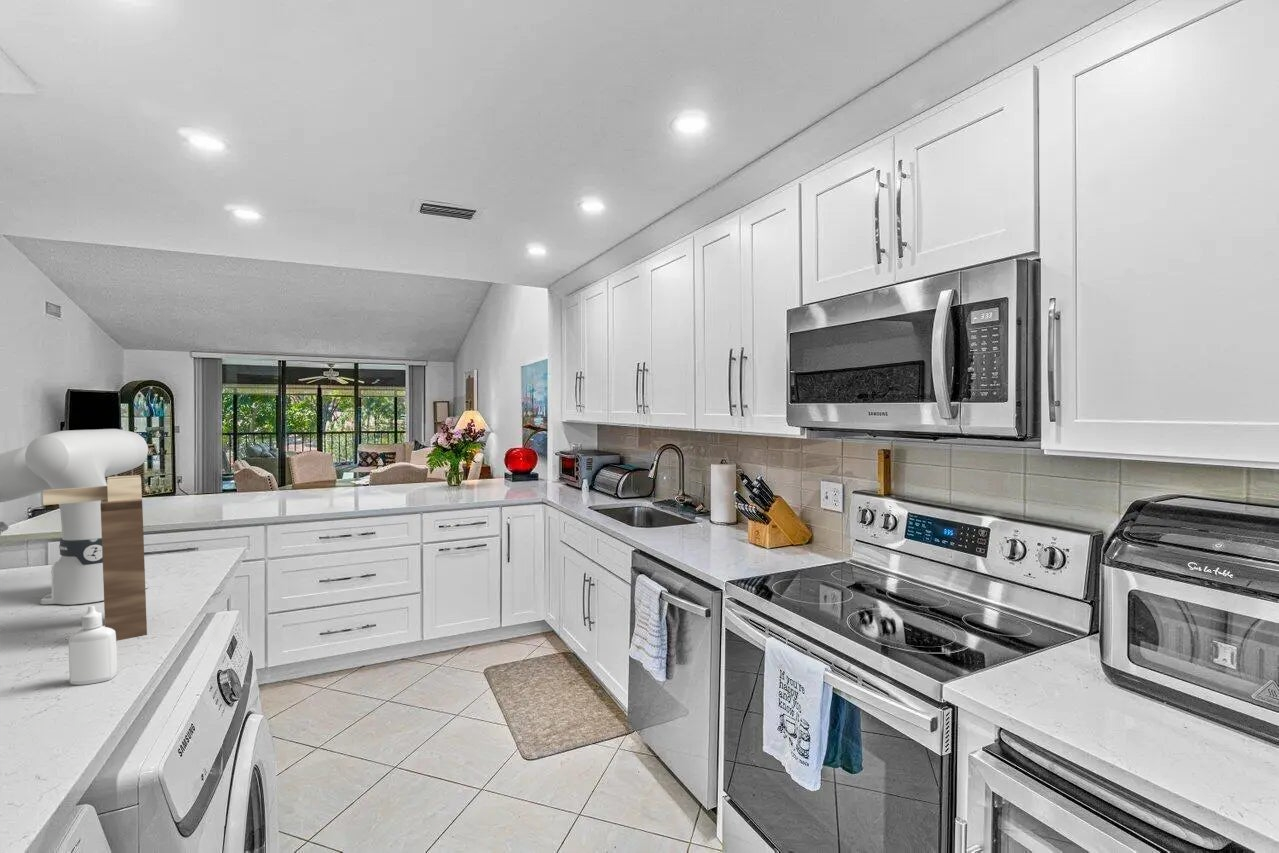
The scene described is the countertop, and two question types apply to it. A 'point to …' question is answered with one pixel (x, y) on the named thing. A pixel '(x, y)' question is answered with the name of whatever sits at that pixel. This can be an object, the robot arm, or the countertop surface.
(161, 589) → the countertop surface
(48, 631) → the countertop surface
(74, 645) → the eye dropper bottle
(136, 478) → the wooden mallet
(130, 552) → the walnut shelf
